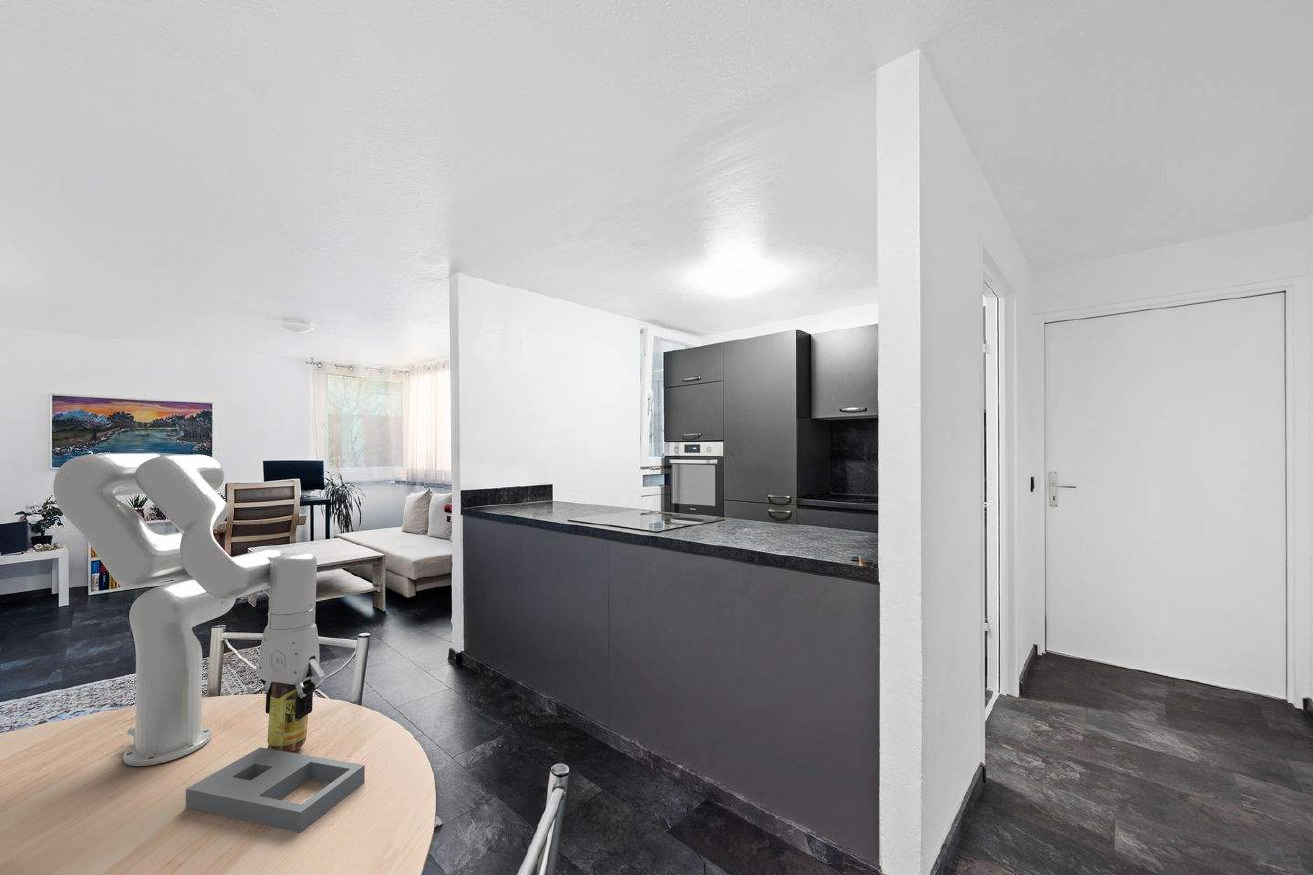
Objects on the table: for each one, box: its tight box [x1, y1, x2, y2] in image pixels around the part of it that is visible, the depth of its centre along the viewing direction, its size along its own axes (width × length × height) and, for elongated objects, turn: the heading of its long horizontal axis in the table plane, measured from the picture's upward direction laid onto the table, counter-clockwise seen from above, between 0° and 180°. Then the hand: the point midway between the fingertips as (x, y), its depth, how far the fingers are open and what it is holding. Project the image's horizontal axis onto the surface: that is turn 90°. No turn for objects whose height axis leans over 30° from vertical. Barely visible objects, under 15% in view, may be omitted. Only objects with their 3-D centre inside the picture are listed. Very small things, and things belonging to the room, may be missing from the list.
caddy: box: [185, 746, 366, 833], centre depth 90 cm, size 23×12×3 cm, turn 76°
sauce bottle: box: [267, 681, 309, 753], centre depth 103 cm, size 7×6×20 cm
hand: (289, 711), depth 103 cm, fingers closed on sauce bottle, 6 cm apart
